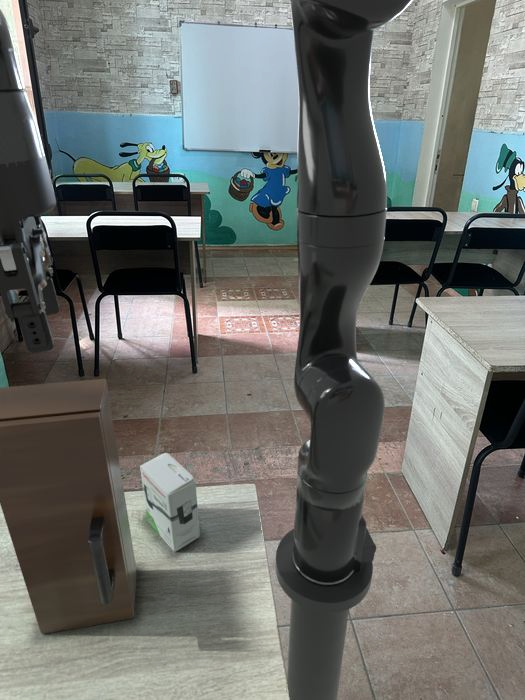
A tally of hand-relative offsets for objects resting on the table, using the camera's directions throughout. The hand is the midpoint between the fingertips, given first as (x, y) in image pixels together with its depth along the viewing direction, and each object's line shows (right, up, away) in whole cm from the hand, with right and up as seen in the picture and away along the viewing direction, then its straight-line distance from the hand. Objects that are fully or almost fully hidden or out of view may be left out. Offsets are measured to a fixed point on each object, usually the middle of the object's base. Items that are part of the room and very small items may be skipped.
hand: (46, 330), depth 47 cm
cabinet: (-2, -36, +18) cm, 40 cm away
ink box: (+7, -31, +29) cm, 43 cm away
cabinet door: (-1, -38, +13) cm, 40 cm away
